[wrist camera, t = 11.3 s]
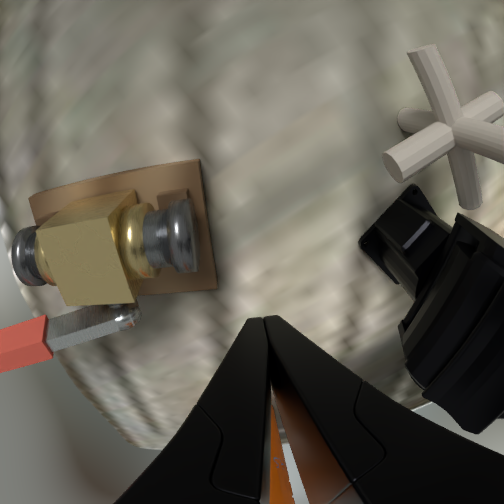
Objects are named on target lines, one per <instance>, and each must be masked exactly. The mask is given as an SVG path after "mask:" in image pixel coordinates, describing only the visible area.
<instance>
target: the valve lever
mask: <svg viewBox="0 0 504 504" xmlns="http://www.w3.org/2000/svg"><path fill="white" fill-rule="evenodd" d="M141 316H142V313H141V310H140V307H139V304H138V302H137V299H136V300H135V303H126V304H125V305H123V306H122V307H120V308H116V309H113V308H110V307H109V306H108V304H101V305H92V306H89V307H86V308H83V309H80V310H77V311H74V312H71V313H67V314H64V315H61V316H58V317H55V318H52V319H48V318H47V316H46V315H43V316H40V317H37V318H34V319H31V320H28V321H25V322H22V323H19V324H16V325H13V326H10V327H7V328H4V329H1V330H0V373H2V372H5V371H9V370H13V369H16V368H20V367H24V366H28V365H31V364H35V363H38V362H41V361H45V360H49V359H52V358H53V352H54V351H57V350H60V349H63V348H67V347H70V346H73V345H76V344H80V343H83V342H86V341H89V340H92V339H96V338H99V337H102V336H105V335H108V334H111V333H114V332H117V331H122V330H126V329H129V328H131V327H133V326H135V325H136V324H137V323H138V322H139V320H140V319H141Z"/></svg>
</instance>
